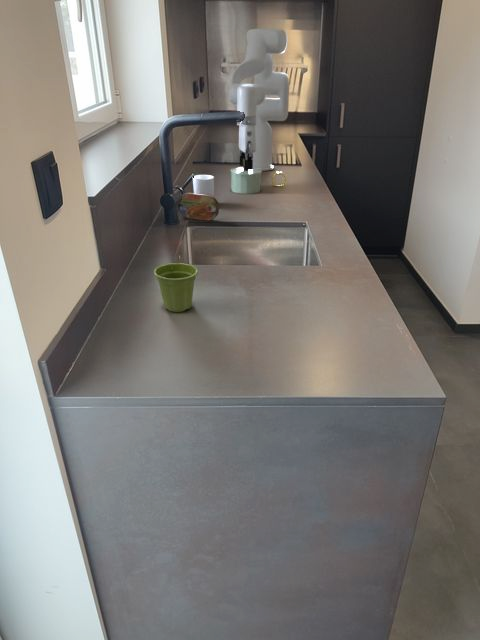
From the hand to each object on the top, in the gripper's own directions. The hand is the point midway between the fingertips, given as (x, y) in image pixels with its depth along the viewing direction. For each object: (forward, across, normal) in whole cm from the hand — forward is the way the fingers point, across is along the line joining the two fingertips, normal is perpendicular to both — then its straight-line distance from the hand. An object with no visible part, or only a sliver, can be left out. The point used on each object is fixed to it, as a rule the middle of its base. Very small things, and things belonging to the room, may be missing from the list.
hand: (245, 167), depth 204 cm
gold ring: (+9, +5, -16) cm, 19 cm away
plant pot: (+9, -104, +42) cm, 113 cm away
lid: (+2, 0, 0) cm, 2 cm away
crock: (+9, 0, 0) cm, 9 cm away
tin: (+9, -37, +26) cm, 46 cm away
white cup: (+9, -19, +21) cm, 30 cm away
